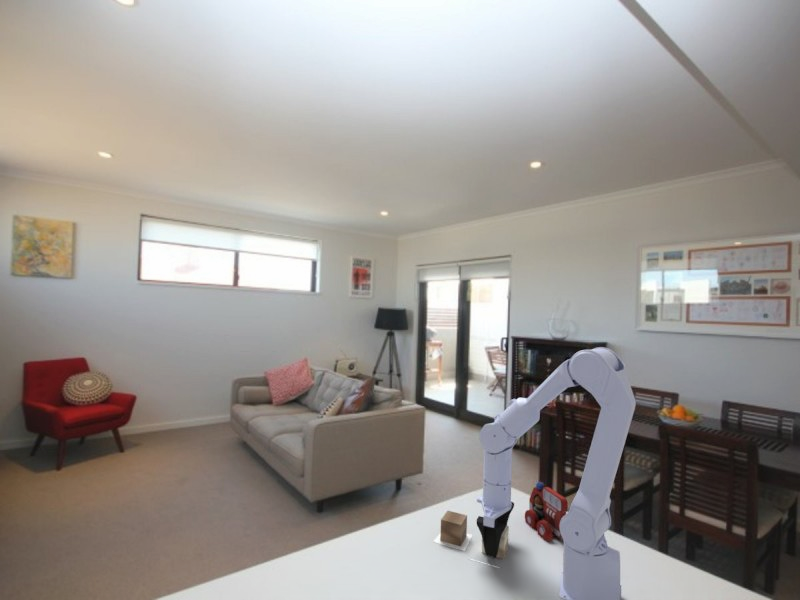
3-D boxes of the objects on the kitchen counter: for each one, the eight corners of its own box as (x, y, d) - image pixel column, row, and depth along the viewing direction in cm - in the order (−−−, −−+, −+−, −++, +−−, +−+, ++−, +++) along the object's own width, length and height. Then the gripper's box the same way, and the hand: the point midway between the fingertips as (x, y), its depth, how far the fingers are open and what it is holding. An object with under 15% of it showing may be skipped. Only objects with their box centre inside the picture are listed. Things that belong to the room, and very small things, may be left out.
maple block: (508, 547, 87) (508, 526, 88) (503, 559, 83) (504, 536, 83) (486, 541, 89) (487, 520, 89) (481, 552, 85) (482, 530, 85)
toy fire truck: (544, 517, 102) (545, 474, 102) (578, 545, 90) (579, 497, 90) (519, 519, 100) (520, 476, 101) (550, 549, 88) (551, 500, 89)
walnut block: (466, 535, 91) (467, 515, 91) (460, 546, 87) (461, 524, 87) (446, 530, 93) (447, 510, 93) (440, 540, 89) (440, 519, 89)
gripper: (486, 464, 95) (484, 524, 95) (469, 489, 82) (466, 558, 82) (517, 470, 92) (516, 532, 92) (505, 497, 79) (503, 569, 79)
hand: (495, 545), depth 86 cm, fingers open, 7 cm apart
